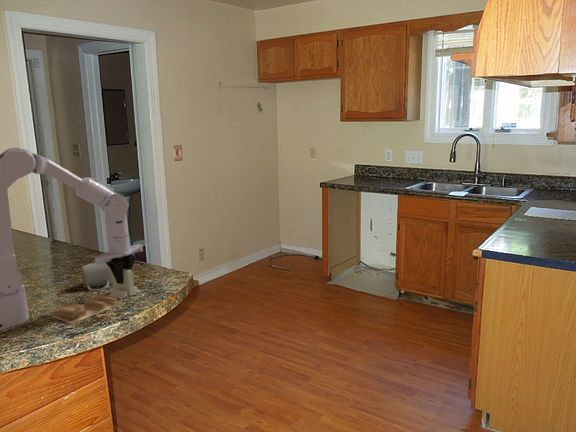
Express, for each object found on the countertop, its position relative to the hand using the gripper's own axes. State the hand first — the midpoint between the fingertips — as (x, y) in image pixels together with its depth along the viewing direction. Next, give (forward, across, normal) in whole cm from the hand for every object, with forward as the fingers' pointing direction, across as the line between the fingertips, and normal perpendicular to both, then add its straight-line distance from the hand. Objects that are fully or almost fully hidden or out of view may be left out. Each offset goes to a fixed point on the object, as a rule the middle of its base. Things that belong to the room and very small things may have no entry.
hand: (123, 282), depth 133 cm
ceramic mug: (+5, +1, +13) cm, 14 cm away
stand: (+4, 0, 0) cm, 4 cm away
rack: (+4, -12, -1) cm, 13 cm away
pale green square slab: (+3, 0, 0) cm, 3 cm away
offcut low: (+3, -17, -1) cm, 17 cm away
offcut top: (+2, -17, -1) cm, 17 cm away
